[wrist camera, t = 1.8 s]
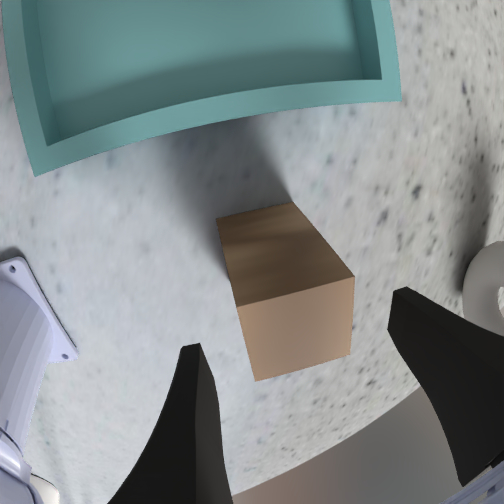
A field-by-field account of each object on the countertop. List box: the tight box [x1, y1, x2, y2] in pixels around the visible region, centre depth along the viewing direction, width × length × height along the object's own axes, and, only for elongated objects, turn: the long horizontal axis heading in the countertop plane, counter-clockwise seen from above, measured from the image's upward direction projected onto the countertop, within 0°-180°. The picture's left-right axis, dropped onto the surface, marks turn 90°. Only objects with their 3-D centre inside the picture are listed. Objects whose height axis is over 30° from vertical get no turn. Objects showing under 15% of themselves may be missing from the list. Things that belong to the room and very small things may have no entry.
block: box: [216, 202, 355, 382], centre depth 14 cm, size 4×4×7 cm
